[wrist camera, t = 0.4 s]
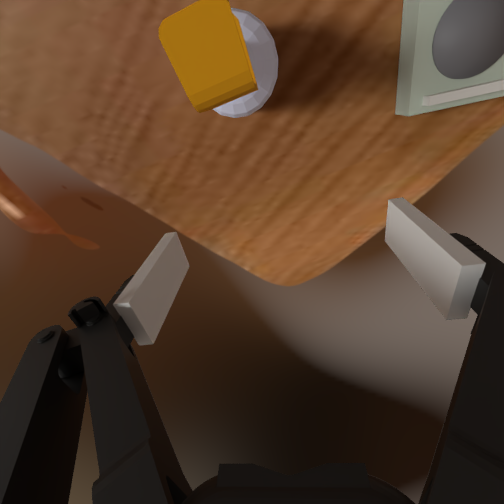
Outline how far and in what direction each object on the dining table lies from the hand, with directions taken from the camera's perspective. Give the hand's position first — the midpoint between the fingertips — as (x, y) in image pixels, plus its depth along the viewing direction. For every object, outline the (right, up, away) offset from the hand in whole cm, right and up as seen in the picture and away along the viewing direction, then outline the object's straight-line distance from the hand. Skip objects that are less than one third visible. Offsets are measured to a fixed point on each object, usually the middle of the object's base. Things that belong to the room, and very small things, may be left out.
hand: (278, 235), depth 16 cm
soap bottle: (-3, +23, +18) cm, 30 cm away
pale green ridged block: (+23, +25, +15) cm, 37 cm away
